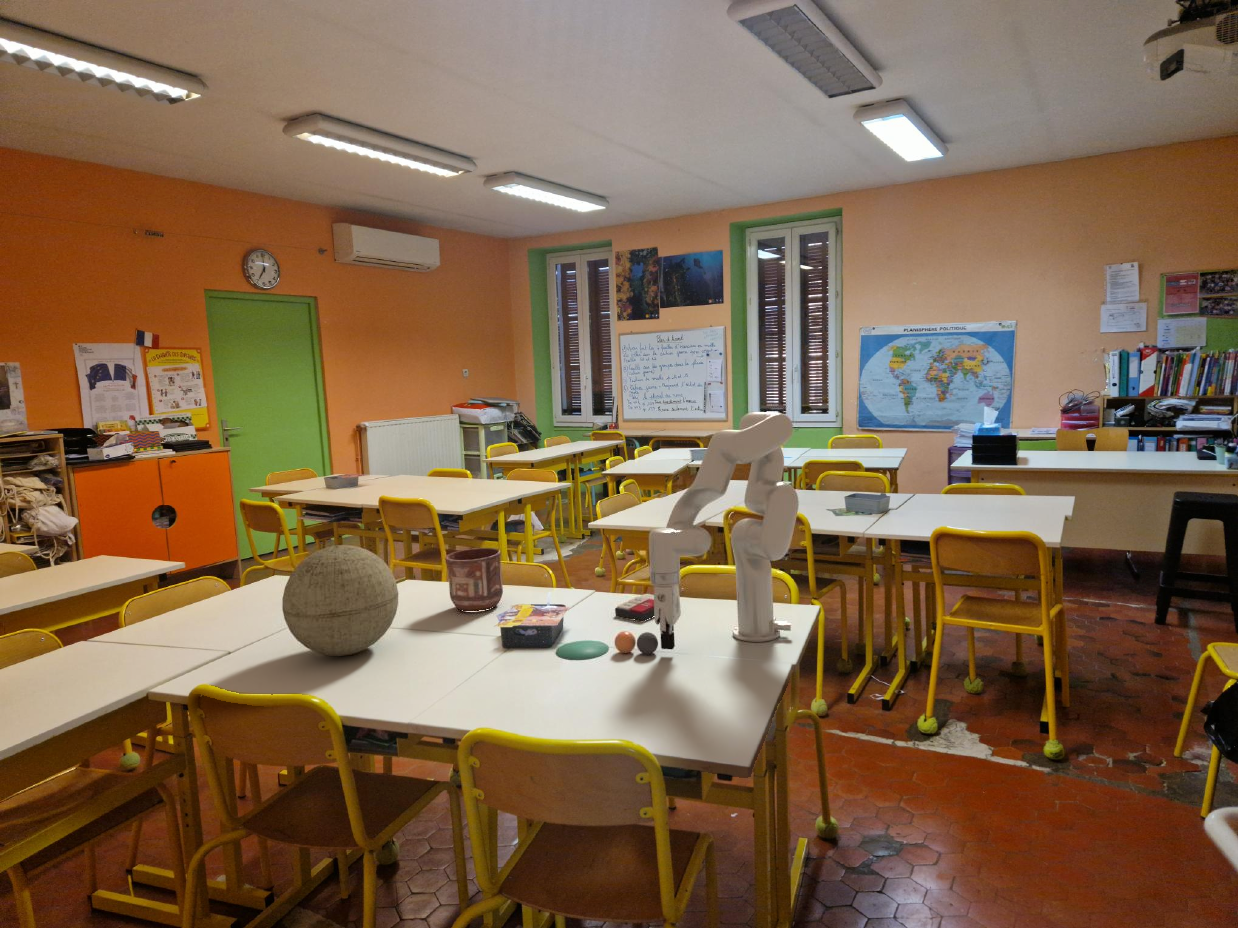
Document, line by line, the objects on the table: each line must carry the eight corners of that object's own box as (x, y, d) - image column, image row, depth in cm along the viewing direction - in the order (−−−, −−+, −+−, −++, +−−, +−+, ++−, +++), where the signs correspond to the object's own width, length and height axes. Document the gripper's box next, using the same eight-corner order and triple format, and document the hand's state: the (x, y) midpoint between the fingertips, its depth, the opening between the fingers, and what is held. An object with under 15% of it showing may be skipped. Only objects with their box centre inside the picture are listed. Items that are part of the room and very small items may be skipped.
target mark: (615, 642, 204) (615, 641, 204) (598, 661, 191) (598, 660, 191) (567, 640, 208) (567, 639, 208) (547, 658, 195) (547, 657, 195)
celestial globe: (269, 657, 208) (257, 551, 205) (369, 628, 230) (360, 531, 227) (319, 682, 188) (307, 564, 185) (423, 647, 210) (414, 541, 206)
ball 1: (638, 649, 198) (637, 628, 197) (632, 656, 193) (631, 635, 192) (618, 648, 199) (617, 627, 199) (612, 655, 194) (611, 634, 194)
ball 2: (644, 625, 196) (636, 643, 198) (639, 632, 191) (630, 650, 193) (663, 635, 195) (655, 653, 197) (658, 642, 190) (649, 661, 191)
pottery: (453, 602, 254) (448, 550, 252) (505, 597, 255) (501, 545, 253) (447, 618, 236) (442, 562, 234) (503, 613, 238) (499, 557, 236)
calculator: (614, 605, 227) (645, 591, 238) (615, 619, 228) (646, 604, 239) (642, 611, 220) (672, 596, 231) (643, 625, 220) (674, 609, 232)
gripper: (673, 585, 182) (676, 659, 184) (685, 570, 196) (688, 639, 198) (643, 584, 184) (646, 657, 186) (657, 570, 198) (660, 637, 200)
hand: (667, 647), depth 192 cm, fingers closed
